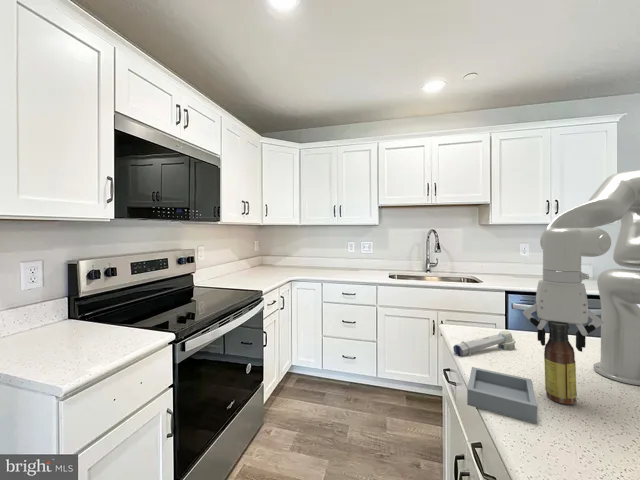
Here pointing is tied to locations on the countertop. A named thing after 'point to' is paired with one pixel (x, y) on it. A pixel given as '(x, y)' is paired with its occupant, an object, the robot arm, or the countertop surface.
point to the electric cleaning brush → (486, 343)
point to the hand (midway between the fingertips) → (560, 346)
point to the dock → (502, 394)
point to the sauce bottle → (560, 365)
